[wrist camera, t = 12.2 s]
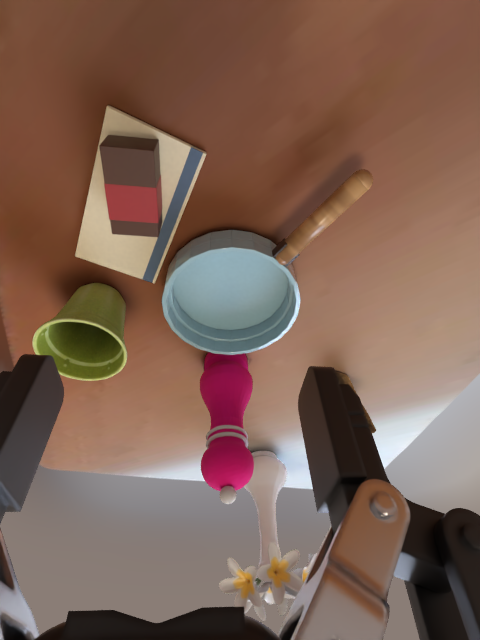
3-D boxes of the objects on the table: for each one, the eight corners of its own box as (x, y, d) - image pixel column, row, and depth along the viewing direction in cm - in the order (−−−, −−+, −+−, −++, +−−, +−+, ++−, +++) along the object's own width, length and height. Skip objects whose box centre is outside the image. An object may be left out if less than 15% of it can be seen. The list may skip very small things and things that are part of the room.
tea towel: (108, 104, 31) (106, 106, 30) (206, 152, 34) (206, 154, 33) (76, 253, 40) (74, 256, 40) (155, 280, 43) (154, 283, 43)
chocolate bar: (107, 134, 32) (98, 145, 29) (159, 139, 32) (154, 150, 30) (118, 218, 37) (111, 234, 35) (163, 222, 37) (159, 237, 35)
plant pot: (68, 257, 40) (39, 307, 34) (149, 287, 44) (137, 337, 37) (54, 314, 46) (27, 367, 39) (127, 337, 49) (113, 389, 43)
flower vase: (302, 472, 78) (328, 623, 59) (216, 471, 76) (215, 626, 57) (318, 440, 69) (354, 604, 50) (222, 438, 67) (223, 608, 48)
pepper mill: (253, 373, 55) (265, 513, 40) (206, 378, 55) (201, 519, 41) (247, 340, 50) (259, 485, 35) (196, 346, 51) (186, 492, 36)
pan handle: (281, 261, 39) (283, 272, 38) (267, 251, 38) (269, 261, 37) (373, 175, 33) (380, 184, 32) (360, 161, 32) (367, 169, 31)
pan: (193, 204, 37) (190, 224, 34) (319, 258, 42) (327, 280, 39) (149, 310, 46) (144, 333, 43) (257, 344, 51) (260, 367, 48)
